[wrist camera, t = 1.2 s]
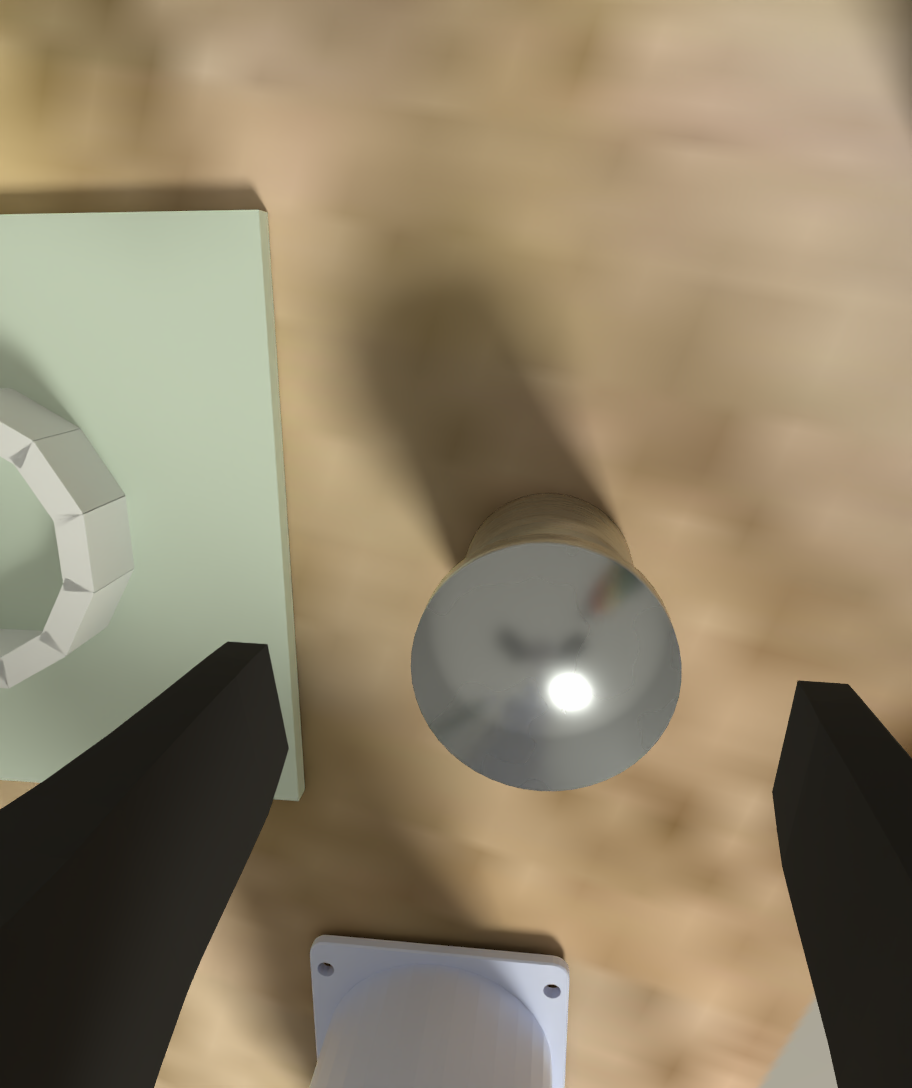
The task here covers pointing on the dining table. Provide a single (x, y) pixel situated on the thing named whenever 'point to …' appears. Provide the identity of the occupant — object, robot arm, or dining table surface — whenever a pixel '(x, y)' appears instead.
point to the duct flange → (136, 472)
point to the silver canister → (546, 650)
